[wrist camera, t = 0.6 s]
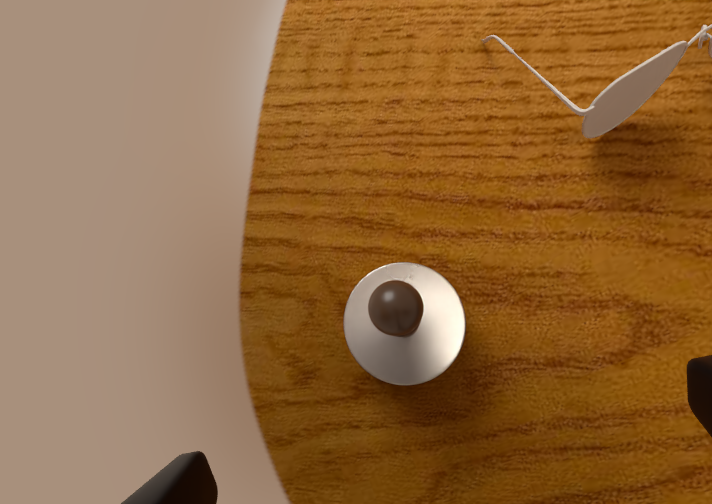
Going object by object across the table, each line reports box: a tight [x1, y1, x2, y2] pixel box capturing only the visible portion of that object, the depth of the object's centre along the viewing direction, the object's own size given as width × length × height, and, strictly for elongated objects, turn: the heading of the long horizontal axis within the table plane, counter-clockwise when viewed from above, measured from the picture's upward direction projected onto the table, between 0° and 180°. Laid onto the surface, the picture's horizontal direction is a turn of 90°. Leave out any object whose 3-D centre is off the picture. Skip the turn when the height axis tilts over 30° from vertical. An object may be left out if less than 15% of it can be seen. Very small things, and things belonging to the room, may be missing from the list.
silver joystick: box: [344, 262, 466, 385], centre depth 17 cm, size 6×6×13 cm
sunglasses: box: [482, 25, 712, 138], centre depth 23 cm, size 14×8×5 cm, turn 121°
